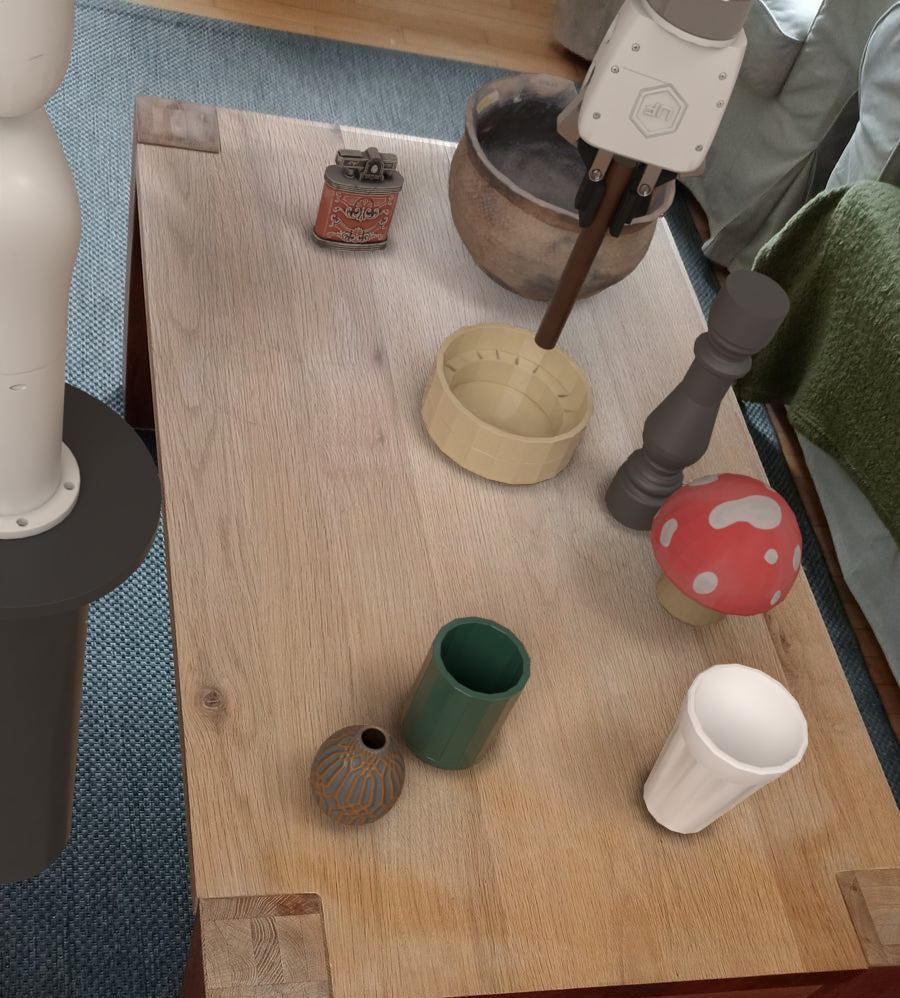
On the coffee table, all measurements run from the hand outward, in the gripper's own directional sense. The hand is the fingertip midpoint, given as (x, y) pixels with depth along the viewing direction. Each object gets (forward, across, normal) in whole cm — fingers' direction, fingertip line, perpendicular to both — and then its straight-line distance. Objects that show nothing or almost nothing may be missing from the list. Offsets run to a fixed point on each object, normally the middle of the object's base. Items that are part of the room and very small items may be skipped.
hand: (598, 220), depth 106 cm
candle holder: (+24, +13, -6) cm, 28 cm away
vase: (+24, -12, -44) cm, 52 cm away
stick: (+13, 0, 0) cm, 13 cm away
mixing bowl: (+24, -1, 0) cm, 24 cm away
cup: (+24, +15, -39) cm, 48 cm away
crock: (+24, -5, -36) cm, 43 cm away
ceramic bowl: (+24, +2, +25) cm, 35 cm away
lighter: (+24, -17, +22) cm, 37 cm away
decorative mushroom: (+24, +17, -18) cm, 34 cm away
